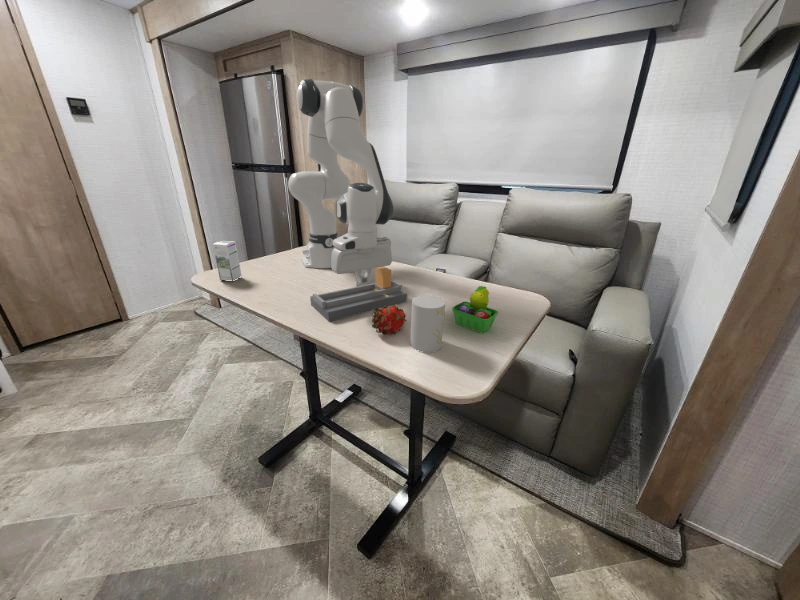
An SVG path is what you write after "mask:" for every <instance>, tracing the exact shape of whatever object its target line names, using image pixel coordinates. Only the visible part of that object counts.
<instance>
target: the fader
mask: <svg viewBox="0 0 800 600" xmlns="http://www.w3.org/2000/svg"><path fill="white" fill-rule="evenodd" d="M391 279H392V269H390V268H388V267H387V266H383V267H377V268H375V284H374V288H375V289H377V290H382V289H387V288H392V286H391Z"/></svg>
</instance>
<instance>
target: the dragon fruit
mask: <svg viewBox="0 0 800 600" xmlns="http://www.w3.org/2000/svg"><path fill="white" fill-rule="evenodd" d="M371 319H372V320H371V322H372V323H373V324H371V327H372V328H373V329H375V332H376V333H378V334H382V335H386V334H387V333H388V334H390V335H394V336H396V335H397V332H400V331H401V329H402V328H403V326H404V325H405V323H406V322H407V319H406V313H405V311H404V309H403V308H399V307H398V305H397V304H396V305H392V306H388V305H386V306H383V308H376V310H374V312H373V314H372V316H371Z"/></svg>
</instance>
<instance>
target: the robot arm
mask: <svg viewBox="0 0 800 600" xmlns="http://www.w3.org/2000/svg"><path fill="white" fill-rule="evenodd" d="M296 102H297V104H298V105H297V106H298V109H299V110H300V111H301V113H302V114H303V115H305V116H308V119H307V131H306V133H307V135H306V136H307V137H306V143H307V145H306V152H307V156H308V157H309V159H311V160H312V161H313V162H314V163H317V164H318V165H320V170H319V171H315V170H314V171H310V170H309V171H308V170H307V171H305V170H303V171H298V172H295V173H291V175H290V176H289V179H288V182H287V185H288V187H287V188H288V190H289V193H290V194H291V196H292V197H293V198H294V199H295V200H297V201H299V202H300V203H301V205H302V206H303V207H304V209H305V211H306V213H307V216H308V223H309V231H310V232H309V236H308V241H309V242H308V243H307V244H306V246H305V247H304V249H302V256H300V261H301V260H302V261H301V262H302V264H303V266H304V267H305V268H314V269H331V270H332V272H334V273H335V274H337V275H342V274H348V273H354V274H355V276H356V275H357V277H358V282H359V283H365V282H368V281H369V276H370V274H371V272H372V268H377V267H383V266H384V267H387V266H391V264H392V263H393V254H392V241H391V239H390V238H388V237H386V236H383V237H378V228H377V225H381V226H382V225H385V224H387V223H388V222H389V221H390V220H391V219H392V217H393V215H394V204H393V200H392V198H391V196H390V194H389V191H388V188H387V185H386V181H385V178H384V176H383V175H384V174H383V171H382V167H381V165H380V161H379V158H378V155H377V152H376V150H375V147H374V145H373V144H372V143H370V142H369V141H368V140H367V138H366V137H365V135H364V133H363V131H362V127H361V122H360V121H361V120H360V117H361V115H362V113H363V109H364V98H363V95H362V92H361V90H360V89H359V88H357V87H355V86H353V85H351V84H349V85H347V84H344V83H342V82H336V81H332V80H331V81H327V80H317V79H316V80H313V78H304V79H301V81H300V82H299V84H298V86H297V90H296ZM338 156H341V157H342V158H345V159H347V160H349V161H352V162H354V163H355V164H358V165H359V166H361V168H363V170H364V171H365V172H366V176H367V178H368V183H364V182H355V183H351V180H350V178H349V177H348V175H347V174H345V172H344V171H343V170H342V168H341V167H340V165H339V161H338ZM323 200H336V201H335V213H336V214H335V213H334V211H332V210H331V209H328V208H326V207H324V205H323V202H322V201H323ZM337 219H338V221H340V222H341V223H342V224H345V225H348V226H347V232H346V233H344V234H343V235H341V236H338V235H339V234H338V232H337ZM362 270H365V271H366V272H365V275H364V276H361V275H360V274H361V273H362Z"/></svg>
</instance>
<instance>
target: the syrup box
mask: <svg viewBox="0 0 800 600" xmlns="http://www.w3.org/2000/svg"><path fill="white" fill-rule="evenodd" d="M212 248H213V251H214V252H213V253H214V257H215V263H216V267H217V271H218V276H219V281H220V280H232V281H233V280H235V279H237V278H239V277H240V276H242V277H243V274H242V271H241V265H240V261H239V254H238V253H239V252H238V249H237V243H236V241H235V240H233V241H231V240H230V241H229V240H220V241H216V242H214V243H212Z"/></svg>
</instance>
